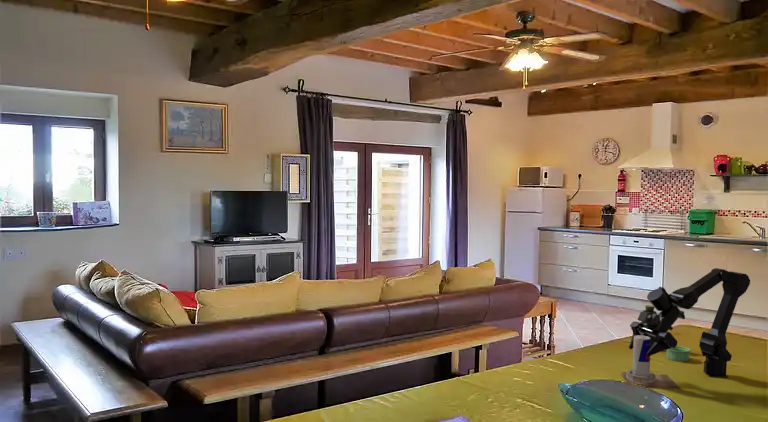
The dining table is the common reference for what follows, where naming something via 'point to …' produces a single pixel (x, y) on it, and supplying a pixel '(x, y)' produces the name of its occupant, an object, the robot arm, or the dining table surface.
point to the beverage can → (641, 356)
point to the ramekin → (678, 354)
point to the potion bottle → (650, 311)
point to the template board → (657, 383)
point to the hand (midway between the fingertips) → (638, 351)
